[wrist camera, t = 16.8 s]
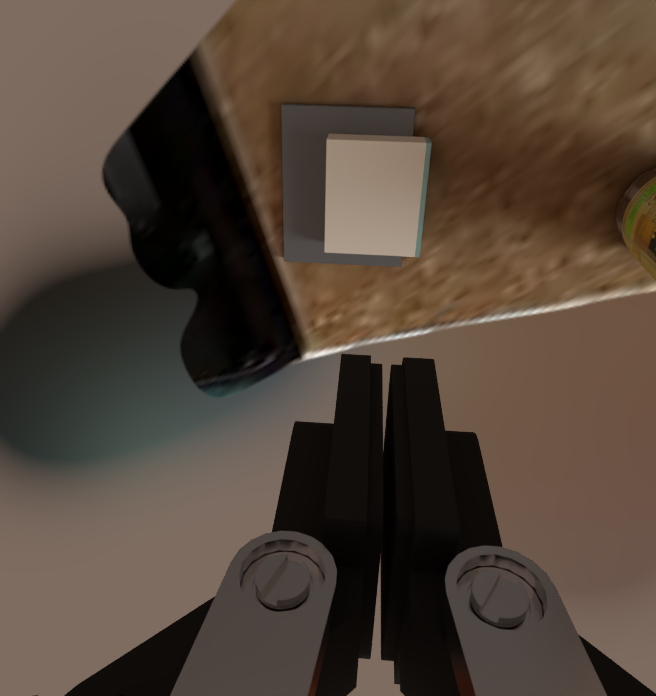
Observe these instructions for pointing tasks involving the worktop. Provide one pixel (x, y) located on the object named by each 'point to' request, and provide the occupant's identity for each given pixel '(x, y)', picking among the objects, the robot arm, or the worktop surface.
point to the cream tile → (375, 194)
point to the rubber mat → (310, 172)
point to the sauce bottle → (640, 220)
